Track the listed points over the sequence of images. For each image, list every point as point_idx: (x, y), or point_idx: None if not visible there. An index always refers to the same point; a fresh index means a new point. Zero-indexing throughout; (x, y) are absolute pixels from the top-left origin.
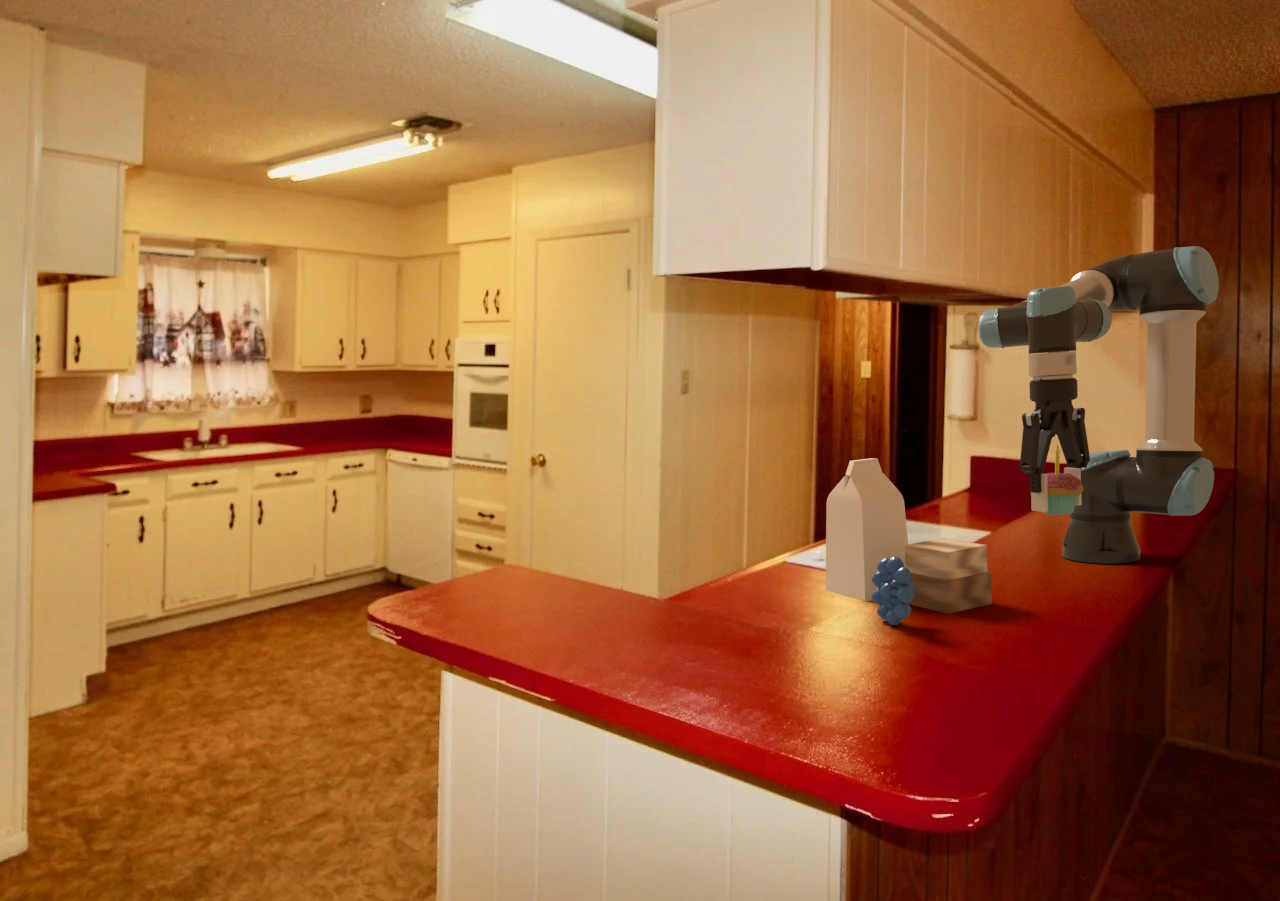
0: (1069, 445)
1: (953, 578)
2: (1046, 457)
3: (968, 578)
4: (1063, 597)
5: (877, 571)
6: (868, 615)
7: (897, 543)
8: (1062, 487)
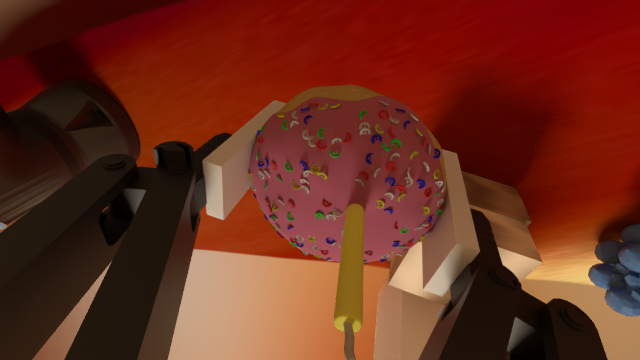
0: (166, 290)
1: (510, 219)
2: (458, 327)
3: (477, 202)
4: (326, 85)
5: (637, 315)
6: (569, 264)
7: (423, 322)
8: (435, 147)
